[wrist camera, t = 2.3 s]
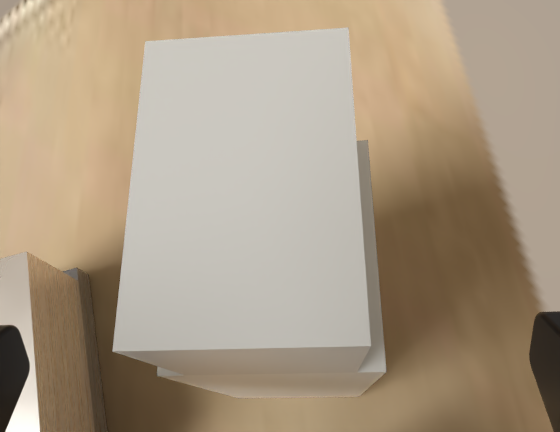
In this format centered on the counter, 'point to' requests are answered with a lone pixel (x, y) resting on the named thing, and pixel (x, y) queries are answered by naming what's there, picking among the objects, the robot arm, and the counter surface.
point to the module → (251, 220)
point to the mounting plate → (53, 346)
